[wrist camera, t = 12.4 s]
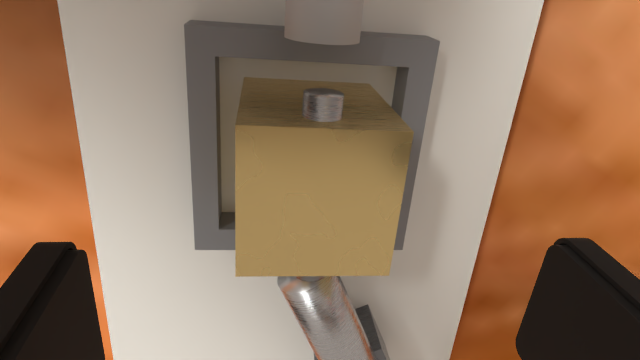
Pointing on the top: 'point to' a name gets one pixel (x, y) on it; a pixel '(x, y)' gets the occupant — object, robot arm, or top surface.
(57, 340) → the robot arm
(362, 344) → the angled shaft
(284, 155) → the block
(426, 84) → the white fixture base plate
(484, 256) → the top surface
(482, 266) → the top surface
